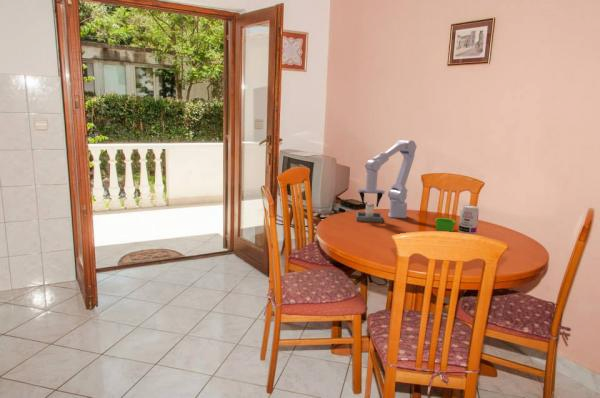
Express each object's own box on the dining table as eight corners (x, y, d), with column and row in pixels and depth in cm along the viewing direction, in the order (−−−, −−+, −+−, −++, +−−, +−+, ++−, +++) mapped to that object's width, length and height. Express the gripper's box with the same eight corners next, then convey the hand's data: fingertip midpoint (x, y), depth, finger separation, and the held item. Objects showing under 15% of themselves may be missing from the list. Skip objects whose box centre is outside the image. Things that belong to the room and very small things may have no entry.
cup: (456, 246, 191) (458, 223, 189) (435, 246, 191) (438, 222, 189) (449, 241, 200) (452, 218, 198) (430, 240, 200) (432, 217, 198)
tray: (380, 217, 241) (380, 213, 241) (382, 222, 230) (383, 218, 229) (355, 216, 242) (356, 211, 242) (356, 221, 231) (357, 216, 230)
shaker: (372, 217, 238) (373, 203, 236) (373, 219, 234) (374, 204, 232) (364, 217, 238) (365, 202, 236) (365, 219, 233) (366, 204, 232)
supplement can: (472, 234, 213) (476, 205, 210) (477, 239, 205) (481, 209, 202) (456, 233, 213) (459, 204, 210) (460, 238, 205) (463, 208, 202)
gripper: (358, 182, 229) (357, 207, 231) (385, 183, 227) (384, 208, 230) (358, 180, 235) (356, 204, 238) (384, 181, 234) (382, 205, 237)
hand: (370, 206), depth 235 cm, fingers open, 7 cm apart
